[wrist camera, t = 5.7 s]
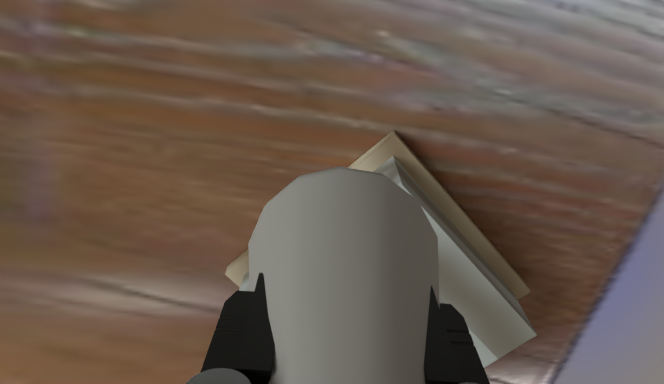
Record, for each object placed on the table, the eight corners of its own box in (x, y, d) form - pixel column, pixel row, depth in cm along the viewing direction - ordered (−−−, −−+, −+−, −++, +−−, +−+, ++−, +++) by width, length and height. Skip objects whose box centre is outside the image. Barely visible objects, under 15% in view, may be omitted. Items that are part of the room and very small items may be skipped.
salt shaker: (353, 110, 16) (411, 481, 4) (456, 231, 18) (716, 750, 6) (225, 216, 17) (-13, 722, 5) (332, 319, 19) (327, 881, 7)
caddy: (393, 129, 33) (404, 160, 28) (525, 282, 38) (558, 336, 32) (228, 265, 38) (208, 316, 32) (364, 387, 42) (368, 451, 36)
